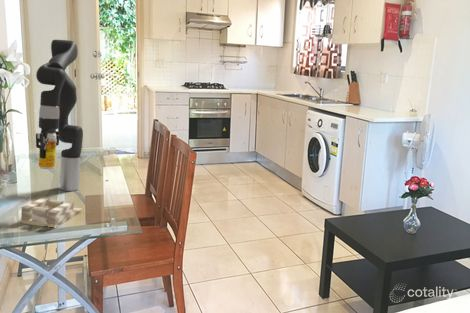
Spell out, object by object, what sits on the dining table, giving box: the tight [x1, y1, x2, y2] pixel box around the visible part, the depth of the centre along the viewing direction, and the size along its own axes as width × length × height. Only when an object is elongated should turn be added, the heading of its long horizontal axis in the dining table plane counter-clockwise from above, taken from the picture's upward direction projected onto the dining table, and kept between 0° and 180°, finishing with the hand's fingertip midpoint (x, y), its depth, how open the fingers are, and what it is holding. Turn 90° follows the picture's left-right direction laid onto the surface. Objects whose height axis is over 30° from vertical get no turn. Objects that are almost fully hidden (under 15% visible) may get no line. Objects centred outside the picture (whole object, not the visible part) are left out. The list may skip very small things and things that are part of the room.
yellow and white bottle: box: [38, 132, 57, 170], centre depth 168 cm, size 6×6×15 cm
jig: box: [20, 197, 83, 228], centre depth 169 cm, size 22×14×6 cm, turn 174°
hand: (47, 157), depth 168 cm, fingers closed on yellow and white bottle, 6 cm apart
